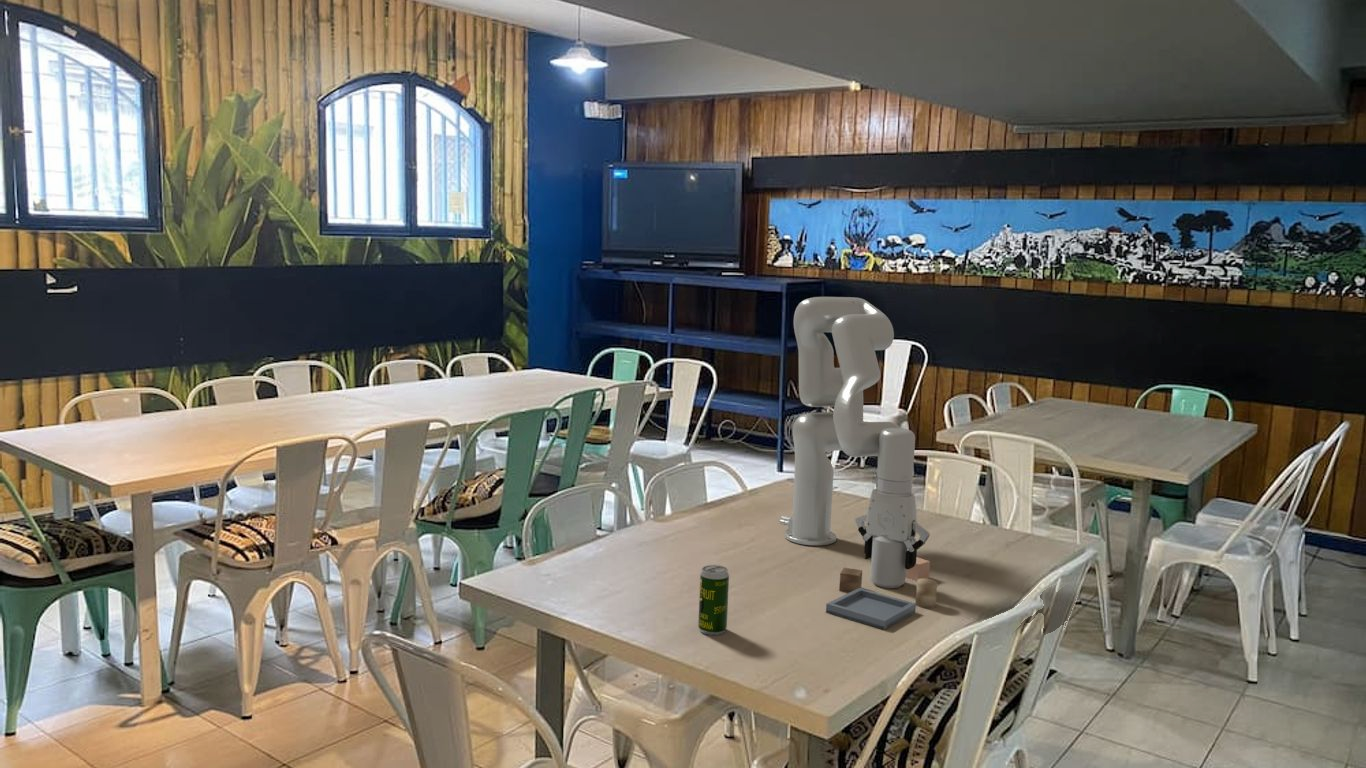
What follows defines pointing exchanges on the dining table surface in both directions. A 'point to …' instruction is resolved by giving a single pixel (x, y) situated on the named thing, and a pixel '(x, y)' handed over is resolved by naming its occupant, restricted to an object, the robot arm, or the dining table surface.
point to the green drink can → (713, 600)
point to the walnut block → (850, 579)
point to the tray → (871, 608)
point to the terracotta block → (918, 570)
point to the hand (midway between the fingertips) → (889, 562)
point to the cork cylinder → (926, 593)
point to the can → (888, 562)
